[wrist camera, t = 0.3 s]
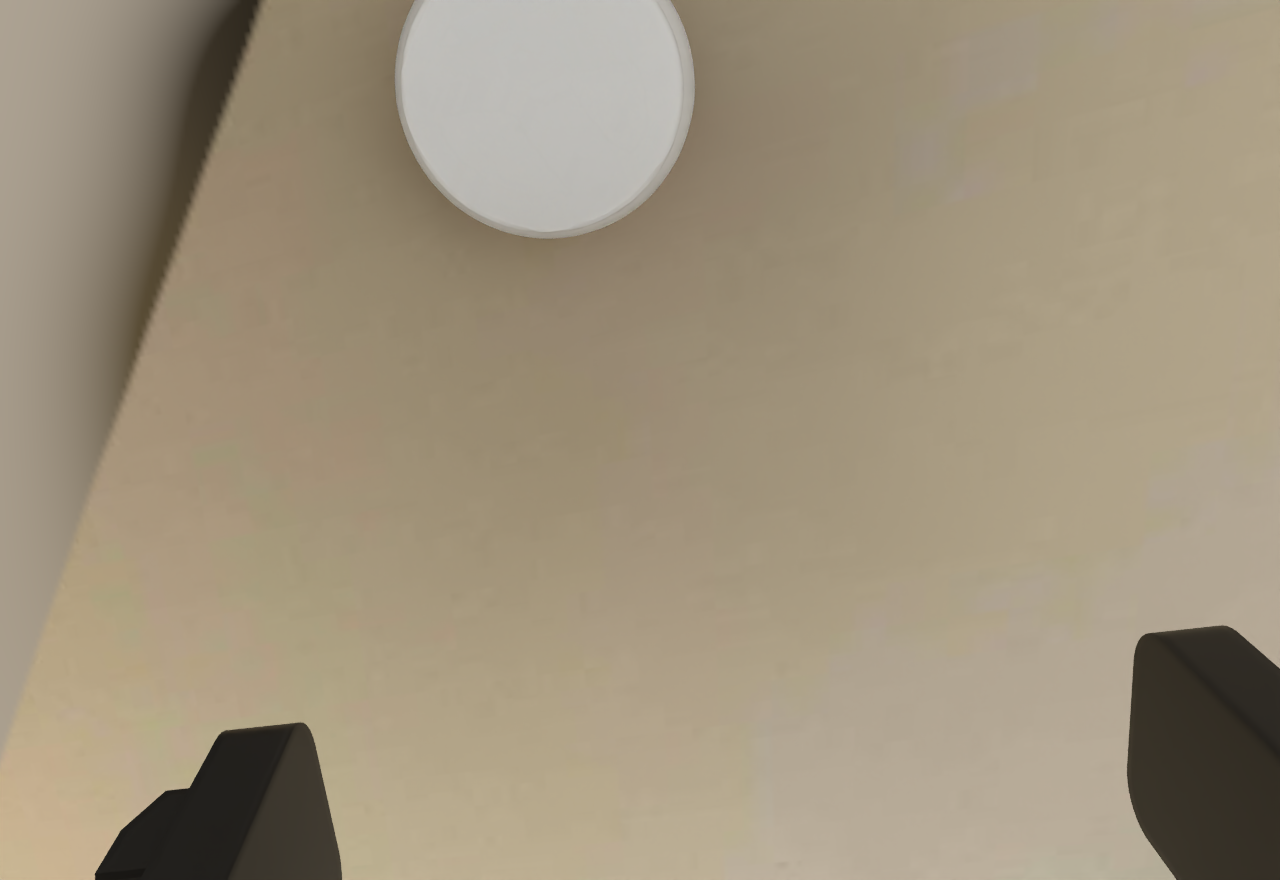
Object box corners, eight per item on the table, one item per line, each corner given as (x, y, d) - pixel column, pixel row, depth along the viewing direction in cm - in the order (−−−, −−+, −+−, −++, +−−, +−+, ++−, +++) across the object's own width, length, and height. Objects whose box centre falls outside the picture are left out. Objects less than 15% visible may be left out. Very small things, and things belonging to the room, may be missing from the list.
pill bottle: (507, 240, 28) (468, 322, 19) (395, 32, 27) (291, 8, 17) (706, 138, 28) (768, 170, 18) (605, -83, 26) (616, -171, 17)
